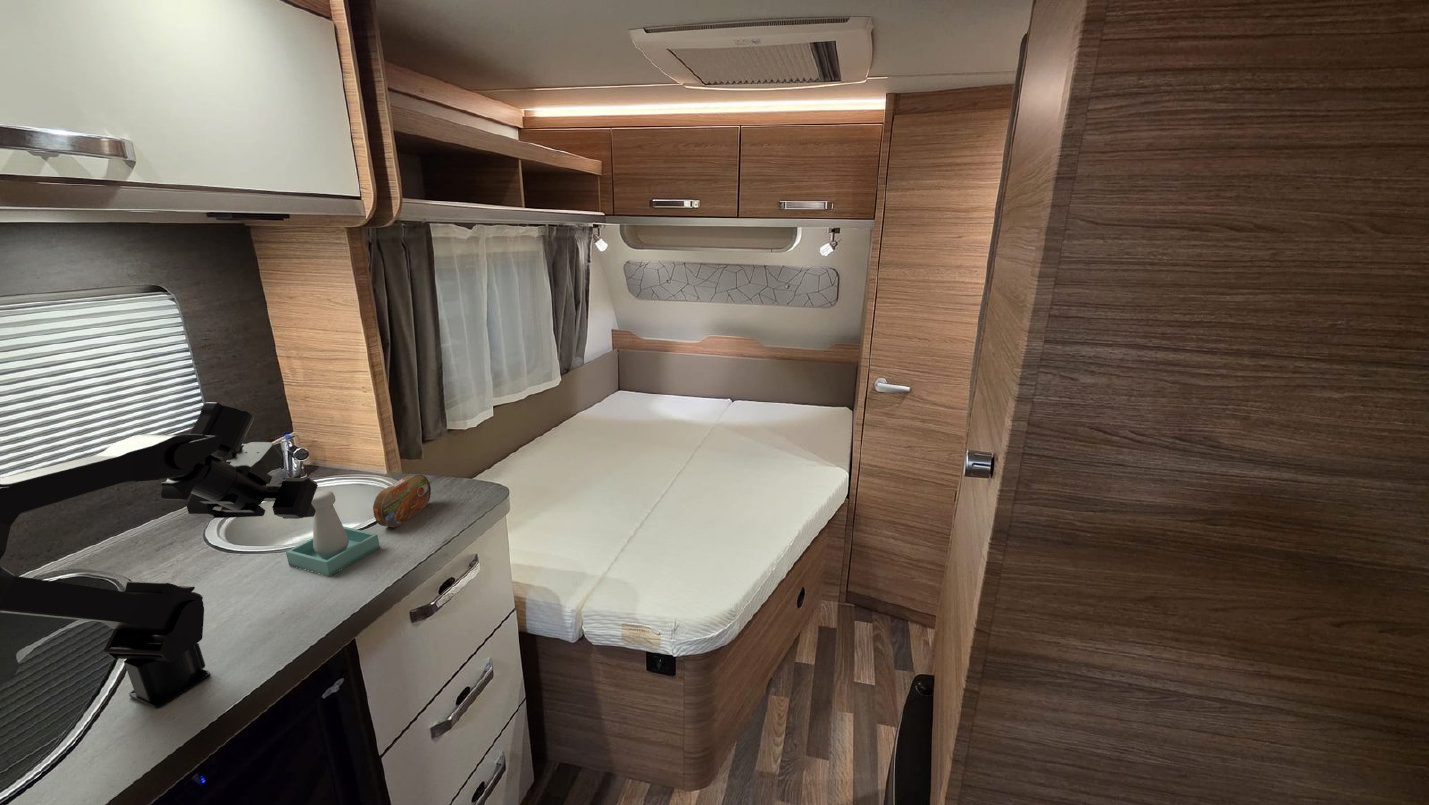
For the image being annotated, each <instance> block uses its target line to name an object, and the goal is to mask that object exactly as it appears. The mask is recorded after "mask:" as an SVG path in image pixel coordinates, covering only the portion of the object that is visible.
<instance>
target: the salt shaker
mask: <svg viewBox="0 0 1429 805" xmlns="http://www.w3.org/2000/svg"><path fill="white" fill-rule="evenodd" d="M335 502H336V496H335V494H334V492H333V491H331V490H319V491H316V492H315V494H314V497H313V500H312V502H311V503H312V505H313V507H314V508H315V510H316V512H315V515H314V517H312V536H313V547H314V550H315V552H316V553H317V554H318V555H319V556H320V557H321V558H323V559H325V560H328V559H330V558H332V557H334V556H336V555H337V554H339V553H341V552H343V551H345V550H346V549H347V546H348V544H349V538H348V536H347V534H346V532H345V529H344V527H345V526H344V525H343V523H342V520H341V519H340V517H339V515H338V513H337V510H336V509H335V506H334V504H335ZM343 526H344V527H343Z"/></svg>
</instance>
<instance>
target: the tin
mask: <svg viewBox="0 0 1429 805" xmlns="http://www.w3.org/2000/svg"><path fill="white" fill-rule="evenodd" d="M431 495H432V487H431V484H430V481H429V479H428V478H427V477H426V476H425V475H423V474H410V475H406V476H404V477H402V478H401V479H399V480H398V481H396V482H394V483H392V484H391V485H389V486H388V487H386V488H384V489H382V490H381V491H380V492H379V493H378V494H377V496H376V497H375V499H374V501H373V505H372V510H373V516H374V519H375V522H376V523H377V524H378V525H380V526H382V527H390V528H399V527H401V526H402V525H403V524H404V523H406V522H407V521H409V520H410V519H412V518H413V517H414V516H416V515H417V514H419V513H420V512H421V511H423V510H424V509H425V508H426V507H427V506H428V504H429V501H430V498H431Z"/></svg>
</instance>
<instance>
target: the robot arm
mask: <svg viewBox="0 0 1429 805" xmlns="http://www.w3.org/2000/svg"><path fill="white" fill-rule="evenodd" d="M254 419H255V416H254V415H253V414H251V413H250V412H248V411H246V410H241V409H239V408H235V407H231V406H226V405H223V404H221V403H220V402H210V401H209V402H204V403H203V405H202V407H201V410H200V413H199V415H198V418H197V420H196V422H195V423H194V425H193V426H192V429H191V431H190V433H189V434H186V433H185V434H182V433H180V434H179V433H174V434H151V433H150V434H146V433H145V434H143V433H142V434H136V435H133V436H129V437H127V438H125V439H123V440H120V441H117V442H116V443H115V442H114V443H112V444H111V445H110V446H108V447H107V448H106V449H105V450H104V451H101V452H98V453H97V454H94V455H90V456H87V457H83V458H79V459H75V460H69V461H66V462H62V463H58V464H52V465H50V466H46V467H41V468H37V469H31V470H30V471H29V470H28V471H25V472H24V471H23V472H20V473H15V474H12V475H8V476H3V477H0V560H1V559H2V558H3V556H4V555H5V553H6V549H7V545H8V540H9V536H10V532H11V527H12V525H13V523H14V522H15V521H16V520H17V519H18V517H19V516H20V515H22V514H25V513H26V514H27V513H29V512H32V511H36V510H38V509H43V508H46V507H49V506H52V505H56V504H58V503H62V502H66V501H69V500H73V499H76V498H79V497H83V496H86V495H89V494H92V493H96V492H99V491H102V490H106V489H109V488H112V487H113V488H114V487H117V486H119V485H123V484H128V483H137V482H147V481H148V482H149V481H150V482H151V481H160V480H165V481H163V482H161V483H160V487H161V490H160V498H161V499H162V500H168V501H173V500H174V501H187V500H189V501H188V503H187V505H186V509H187V512H188V515H190V516H194V517H197V518H209V519H231V518H233V519H234V518H249V517H250V518H253V517H264V515H265V513H266V509H265V508H263V507H262V506H261V504H262V503H263V502H273V504H272V507H271V508H272V510H273V515H274V516H277V517H280V518H282V519H284V520H286V519H290V520H291V519H292V520H294V519H295V520H299V519H303V518H313V517H314V515H315V512H316V510H315V508H314V507H313V505H312V503H311V502H312V500H313V497H314V494H315V493H316V492H317V488H318V485H319V484H318V483H317V482H316V481H315V480H314V479H312V478H310V477H288V478H286V479H284V480H282V482H281V484H280V485H278V486H277V485H275V486H273V485H272V486H271V485H270V486H269V485H268V484H271V482H272V479H273V476H272V475H270V474H269V473H270V472H271V471H272V470H273V469H274V467H276V465H277V463H279V462H281V460H282V459H283V455H282V454H281V452H280V451H279V450H278V448H277V447H276V446H275V445H274V444H273V442H270V441H268V442H267V441H262V442H261V441H251V442H248V443H244V442H245V439H246V436H247V434H248V432H249V430H250V428H251V427H252V426H251V425H252V424H253V422H254ZM218 457H220V458H221V457H222V459H220V458H218ZM189 497H190V498H189ZM195 589H196V587H195V586H186V585H185V586H184V585H183V586H182V585H181V586H180V585H176V584H173V583H169V582H157V581H156V582H154V581H153V582H152V581H133V580H132V581H130V580H129V581H127V582H126V586H125V589H124V591H121V590H114V589H109V588H108V589H107V588H101V587H93V586H86V585H81V584H73V583H66V582H60V581H59V582H58V581H52V580H45V579H40V578H38V579H37V578H31V577H24V576H19V575H16V574H14V573H12V572H11V571H9V570H8V569H7V568H4V567H3V566H1V565H0V613H3V614H14V615H15V614H16V615H24V616H26V615H27V616H36V617H46V618H55V619H57V618H59V619H66V620H67V619H68V620H79V621H90V622H99V623H103V624H104V625H105V626H108V627H109V628H110V629H112V630H113V631H112V633H111V635H110V638H109V639H108V641H107V643H106V645H105V647H104V649H103V652H104V653H105V655H107V656H108V657H109V658H111V659H112V660H118V659H119V660H124V661H123V664H124V667H125V668H126V672H127V675H128V678H129V681H130V683H131V685H132V688H133V689H132V690H131V691H129V693H128V696H129V697H130V698H132V699H134V700H137V701H139V702H141V703H144V704H145V705H148V706H150V707H152V708H154V709H157V708H161V707H163V706H165V705H166V704H168V703H169V702H171V701H172V700H174V699H176V698H177V697H179V696H181V695H182V694H184V693H186V692H187V691H188V690H190V689H191V688H193V687H195V686H196V685H198V684H200V683H201V682H203V681H205V680H206V679H208V678H210V677H211V672H210V671H209V670H207V669H205V667H206V662H205V659H204V657H203V656H204V655H203V653H202V650H201V645H200V644H199V642H200V641H202V640H203V633H204V620H205V618H204V617H205V606H204V601H203V598H204V597H203V595H201V594H200V593H198V592H195V591H194V590H195Z"/></svg>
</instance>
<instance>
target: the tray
mask: <svg viewBox="0 0 1429 805" xmlns="http://www.w3.org/2000/svg"><path fill="white" fill-rule="evenodd" d="M343 527H344V529H345V532H346V534H347V536H348V538H349V544H348V546H347V549H346V550H345V551H343V552H341V553H339V554H337V555H336V556H334V557H332V558H330V559H328V560H325V559H323V558H321V557H320V556H319V555H318V554H317V553H316V552H315V550H314V547H313V538H310V539H309V540H306V541H305V542H303V543H300V544H298V545H296V546H294V547H292V548H290V549H288V550H286V551H285V556H286V559H287V562H288V566H289V565H290V566H289V567H292V566H293V568H296V567H297V568H296V569H299V568H301V569H300V570H303V569H306V570H305V571H307V570H309V571H308V572H310V571H313V572H312V573H314V572H316V573H315V574H317V573H320V574H319V575H321V574H323V575H322V576H325V575H326V577H328V576H330V577H332V576H333V574H334V575H335V574H337V573H339V572H340V571H339V570H341V569H342V570H344V569H346V568H348V567H349V566H351V565H353V564H355V563H356V562H358V561H360V560H361V559H363V558H365V557H367V556H368V555H370V554H371V553H373V552H375V551H377V550H378V549H381V545H380V541H379V535H378V533H373V532H370V531H365V530H361V529H356V528H352V527H347V526H344V525H343ZM357 560H358V561H357ZM342 570H341V571H342ZM338 571H339V572H338ZM336 572H337V573H336ZM331 575H332V576H331Z"/></svg>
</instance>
